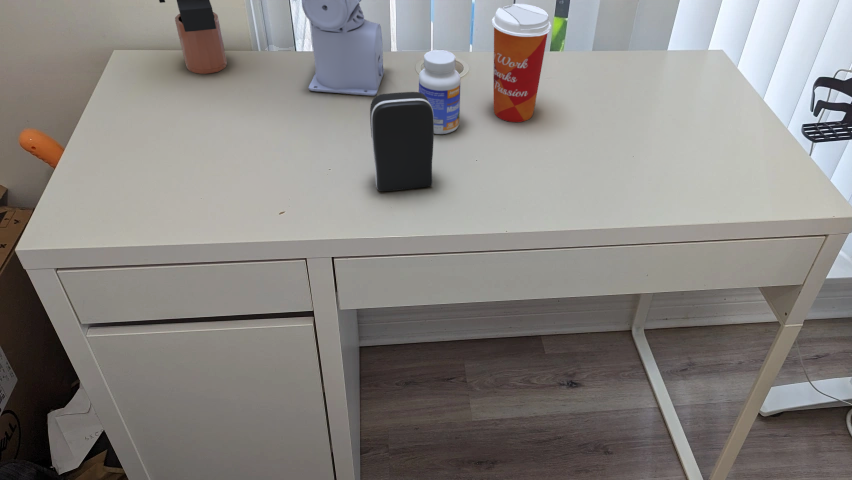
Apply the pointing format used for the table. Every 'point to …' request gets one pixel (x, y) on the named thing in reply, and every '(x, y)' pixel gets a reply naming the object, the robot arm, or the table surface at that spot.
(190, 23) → the black block
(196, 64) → the terracotta cup
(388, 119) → the battery charger
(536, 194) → the table surface
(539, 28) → the paper cup
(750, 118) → the table surface
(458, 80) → the pill bottle
